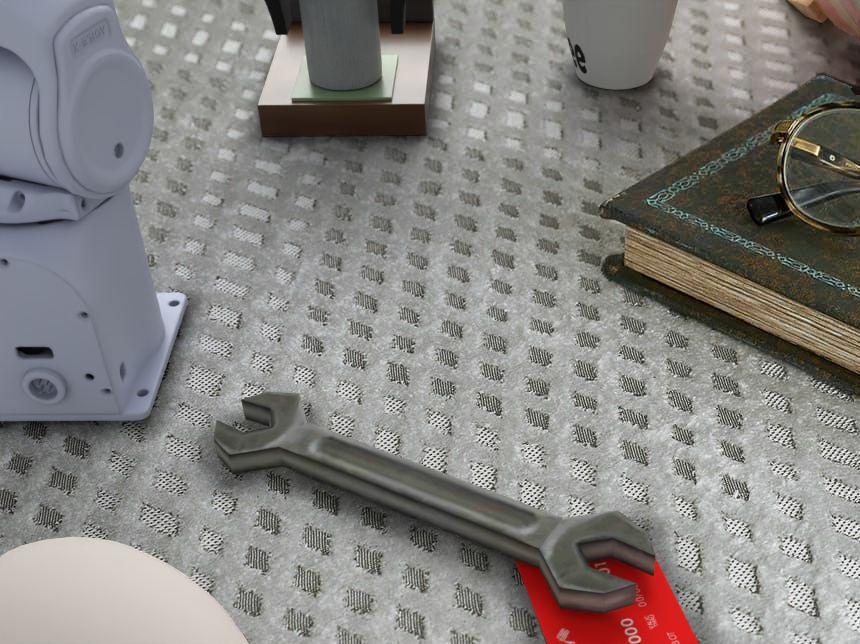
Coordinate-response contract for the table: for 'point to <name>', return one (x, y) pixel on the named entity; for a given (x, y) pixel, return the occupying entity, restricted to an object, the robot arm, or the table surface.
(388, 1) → the box with green square
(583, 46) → the cup
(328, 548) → the table surface
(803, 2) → the planter
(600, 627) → the credit card
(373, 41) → the grey hollow cylinder
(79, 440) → the table surface
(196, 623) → the egg
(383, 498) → the wrench
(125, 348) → the robot arm
